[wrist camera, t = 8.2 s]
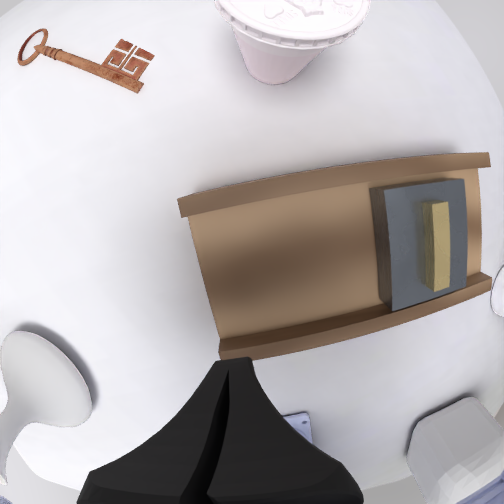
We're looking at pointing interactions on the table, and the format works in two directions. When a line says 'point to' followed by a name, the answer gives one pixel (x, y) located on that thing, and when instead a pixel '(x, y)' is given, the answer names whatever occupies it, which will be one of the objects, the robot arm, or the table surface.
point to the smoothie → (289, 32)
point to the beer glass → (498, 294)
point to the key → (100, 70)
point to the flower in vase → (38, 389)
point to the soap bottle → (456, 452)
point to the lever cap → (420, 239)
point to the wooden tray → (313, 254)
